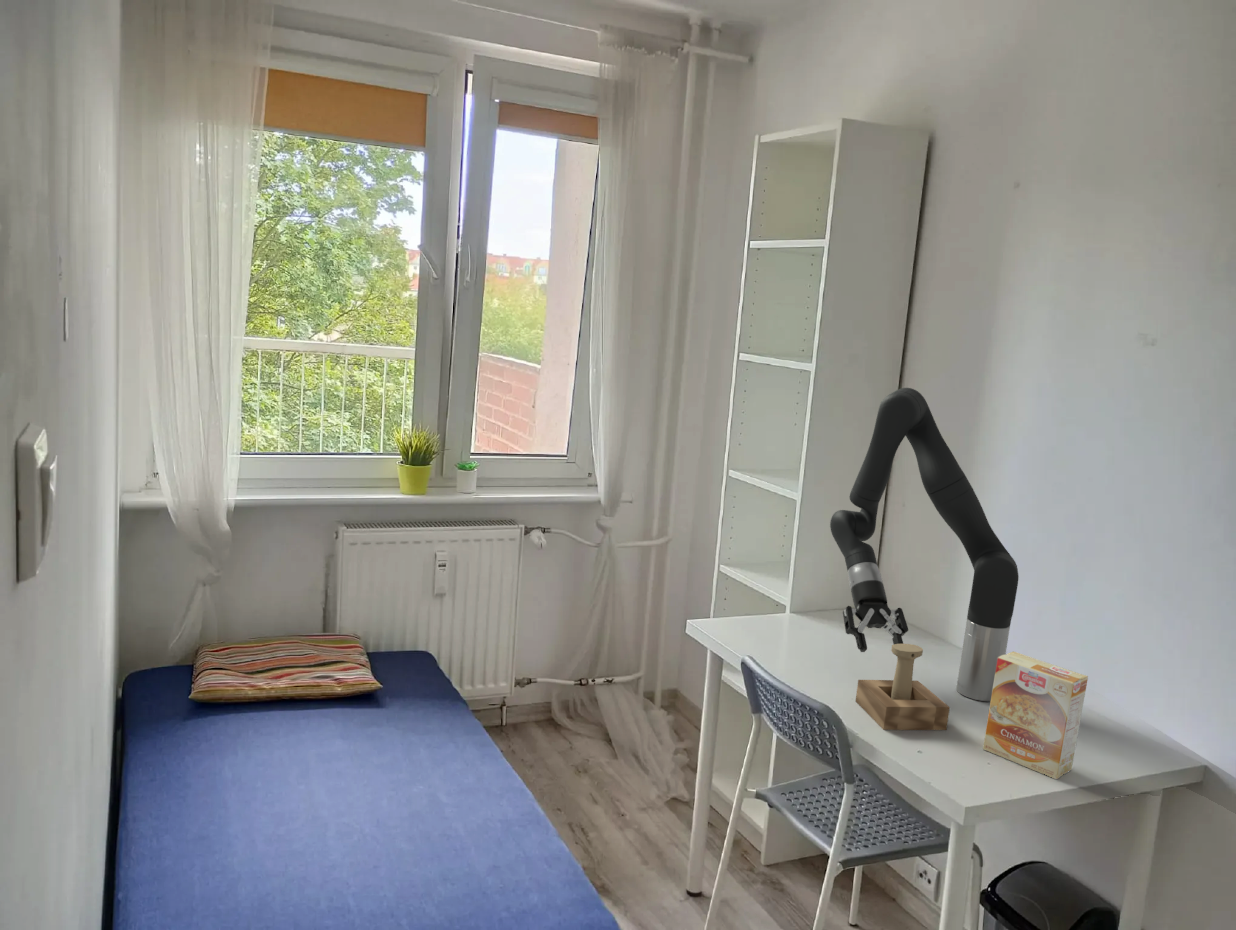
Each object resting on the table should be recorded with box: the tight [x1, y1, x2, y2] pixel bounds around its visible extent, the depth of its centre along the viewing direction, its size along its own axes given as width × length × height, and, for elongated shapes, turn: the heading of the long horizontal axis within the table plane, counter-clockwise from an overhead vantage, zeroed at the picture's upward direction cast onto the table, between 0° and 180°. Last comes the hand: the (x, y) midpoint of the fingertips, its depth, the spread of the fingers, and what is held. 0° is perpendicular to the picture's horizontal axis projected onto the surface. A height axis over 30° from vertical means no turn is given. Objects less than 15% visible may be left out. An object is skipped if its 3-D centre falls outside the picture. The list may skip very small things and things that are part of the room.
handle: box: [890, 643, 924, 700], centre depth 204 cm, size 5×6×15 cm
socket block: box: [855, 679, 951, 731], centre depth 205 cm, size 14×14×5 cm
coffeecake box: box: [982, 651, 1089, 780], centre depth 187 cm, size 15×7×20 cm, turn 42°
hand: (881, 651), depth 215 cm, fingers open, 8 cm apart
